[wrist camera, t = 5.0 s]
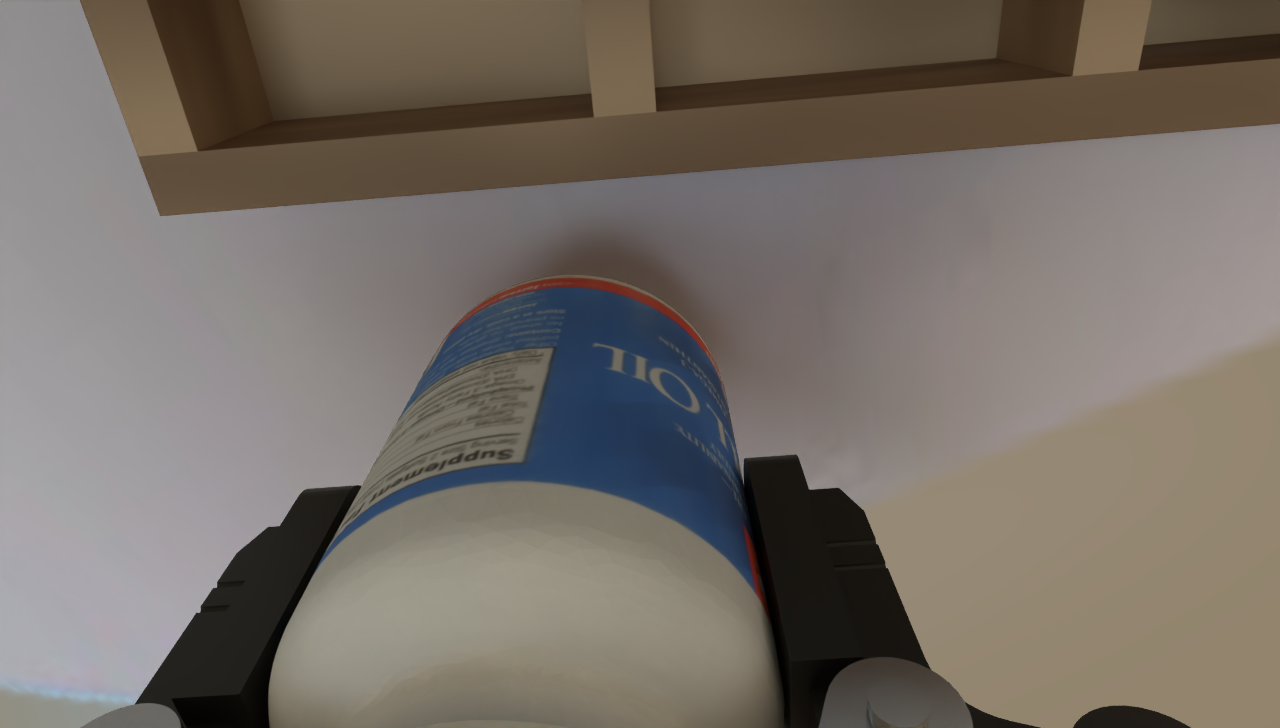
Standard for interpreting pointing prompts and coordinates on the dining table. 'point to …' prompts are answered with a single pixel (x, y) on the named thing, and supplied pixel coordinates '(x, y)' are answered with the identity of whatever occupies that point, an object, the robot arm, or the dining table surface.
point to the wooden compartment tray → (645, 86)
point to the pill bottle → (545, 538)
